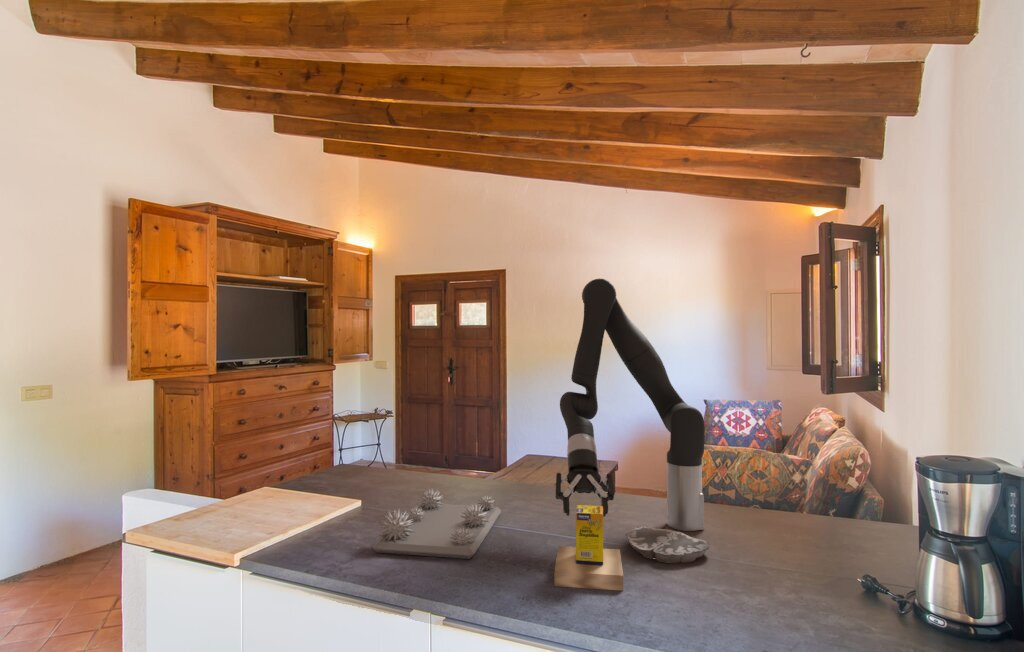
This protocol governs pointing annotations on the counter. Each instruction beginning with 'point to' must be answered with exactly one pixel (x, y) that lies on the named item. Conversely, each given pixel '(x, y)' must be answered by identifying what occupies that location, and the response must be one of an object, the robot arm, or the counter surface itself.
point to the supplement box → (589, 535)
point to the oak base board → (589, 570)
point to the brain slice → (666, 544)
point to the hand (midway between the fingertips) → (586, 514)
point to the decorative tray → (438, 528)
